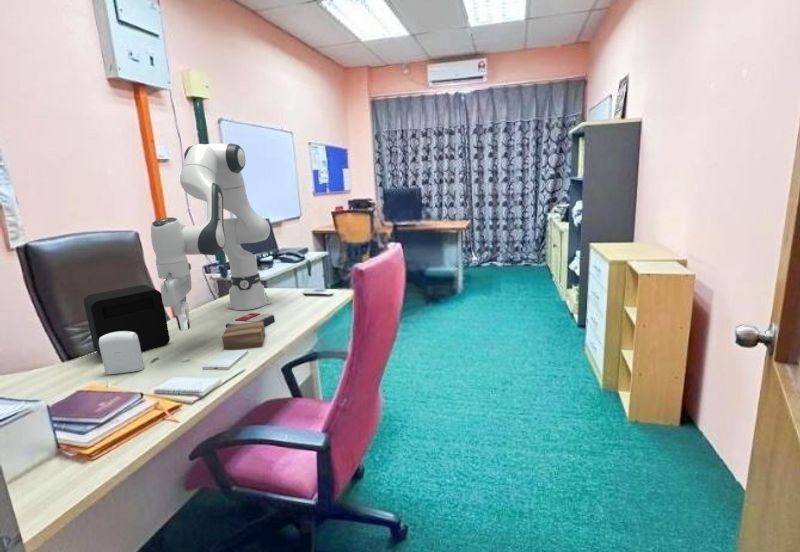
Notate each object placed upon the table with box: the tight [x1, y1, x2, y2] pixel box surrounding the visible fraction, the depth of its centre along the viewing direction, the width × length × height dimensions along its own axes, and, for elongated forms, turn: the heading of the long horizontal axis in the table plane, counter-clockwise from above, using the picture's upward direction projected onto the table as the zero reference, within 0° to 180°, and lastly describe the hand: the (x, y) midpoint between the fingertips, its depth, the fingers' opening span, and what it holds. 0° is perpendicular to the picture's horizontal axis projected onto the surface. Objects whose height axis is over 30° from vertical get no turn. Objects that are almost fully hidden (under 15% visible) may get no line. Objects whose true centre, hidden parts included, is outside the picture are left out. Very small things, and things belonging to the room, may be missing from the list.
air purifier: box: [83, 284, 171, 358], centre depth 146 cm, size 20×15×20 cm
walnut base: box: [221, 321, 266, 351], centre depth 147 cm, size 12×12×5 cm
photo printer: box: [99, 331, 145, 376], centre depth 128 cm, size 10×4×12 cm, turn 100°
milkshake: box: [173, 301, 191, 332], centre depth 140 cm, size 4×5×10 cm
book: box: [225, 312, 276, 329], centre depth 163 cm, size 11×4×15 cm
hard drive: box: [202, 349, 249, 371], centre depth 132 cm, size 2×8×12 cm
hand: (181, 312), depth 139 cm, fingers closed on milkshake, 4 cm apart
